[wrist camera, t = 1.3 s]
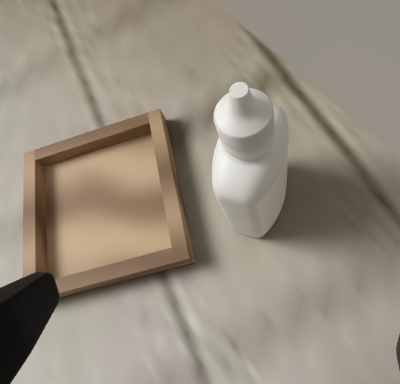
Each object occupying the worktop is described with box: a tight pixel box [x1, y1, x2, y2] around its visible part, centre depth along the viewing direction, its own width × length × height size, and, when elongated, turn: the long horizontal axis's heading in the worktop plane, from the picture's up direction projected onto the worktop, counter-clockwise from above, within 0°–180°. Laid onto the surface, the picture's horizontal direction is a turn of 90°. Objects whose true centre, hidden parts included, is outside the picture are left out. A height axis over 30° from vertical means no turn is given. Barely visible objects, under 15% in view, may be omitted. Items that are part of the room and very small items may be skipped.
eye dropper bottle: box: [212, 82, 289, 238], centre depth 17 cm, size 4×6×12 cm
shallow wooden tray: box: [23, 109, 195, 298], centre depth 25 cm, size 12×12×2 cm
